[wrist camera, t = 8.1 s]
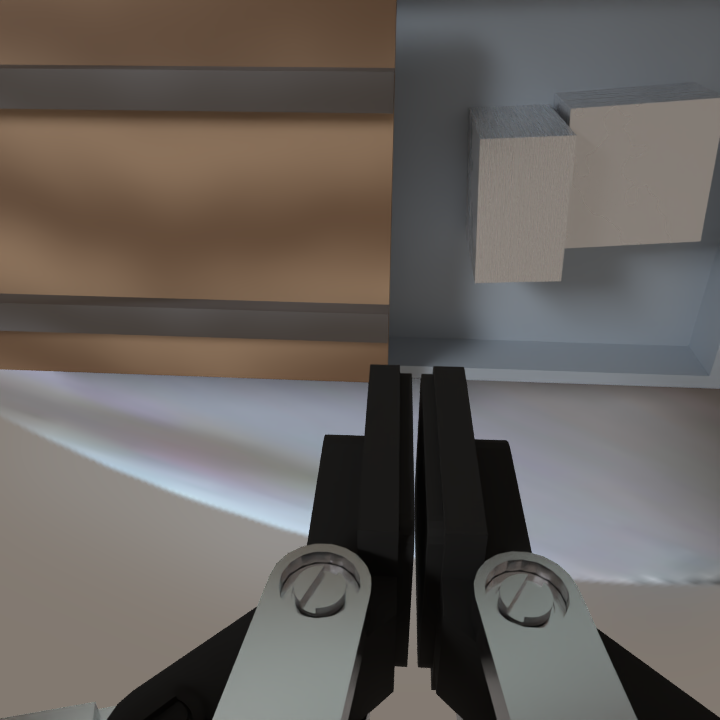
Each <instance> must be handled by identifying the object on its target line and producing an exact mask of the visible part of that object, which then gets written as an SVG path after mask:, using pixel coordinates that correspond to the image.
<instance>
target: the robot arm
mask: <svg viewBox="0 0 720 720" xmlns="http://www.w3.org/2000/svg"><path fill="white" fill-rule="evenodd" d="M414 532H415V553H416V597H417V598H416V605H417V652H418V653H417V654H418V667H421V668H431V690H436V694H437V695H438V696H439V697H440V698H441V699H442V700H443V701H444V702H445V703H446V704H447V705H449V706H450V707H451V708H452V709H453V710H454V711H455V712H456V713H457V714H456V716H457V720H720V718H719V717H718V716H717V715H715V714H714V713H713V712H711V711H710V710H708V709H707V708H706V707H704V706H703V705H702V704H700V703H699V702H697V701H696V700H695V699H693V698H692V697H690V696H689V695H688V694H686V693H685V692H684V691H682V690H681V689H680V688H678V687H677V686H675V685H674V684H673V683H671V682H670V681H669V680H667V679H666V678H664V677H663V676H662V675H660V674H659V673H658V672H656V671H655V670H653V669H652V668H651V667H649V666H648V665H647V664H645V663H644V662H642V661H641V660H640V659H638V658H637V657H635V656H634V655H632V654H631V653H630V652H629V651H627V650H626V649H624V648H623V647H622V646H620V645H619V644H618V643H616V642H615V641H614V640H612V639H611V638H609V637H608V636H607V635H605V634H604V633H603V632H601V631H600V630H598V629H597V628H596V626H595V624H594V622H593V620H592V618H591V615H590V613H589V611H588V609H587V607H586V604H585V602H584V600H583V598H582V595H581V593H580V591H579V589H578V587H577V585H576V584H575V582H574V581H573V579H572V578H571V576H570V575H569V574H568V573H567V572H566V571H565V570H564V569H563V568H561V567H560V566H559V565H558V564H556V563H554V562H553V561H551V560H549V559H547V558H545V557H543V556H540V555H536V554H533V553H532V551H531V547H530V542H529V537H528V532H527V527H526V522H525V518H524V513H523V508H522V503H521V498H520V493H519V489H518V484H517V479H516V474H515V469H514V465H513V460H512V455H511V450H510V446H509V443H508V442H507V440H477V439H474V432H473V425H472V418H471V411H470V404H469V397H468V389H467V382H466V375H465V369H464V367H453V366H433V372H432V374H421V384H420V402H419V421H418V439H417V457H416V475H415V511H414V458H413V406H412V373H400V365H380V364H370V372H369V385H368V398H367V411H366V424H365V436H354V435H325V437H324V441H323V447H322V453H321V460H320V466H319V473H318V479H317V485H316V492H315V498H314V504H313V511H312V517H311V523H310V530H309V536H308V542H307V546H303V547H300V548H298V549H296V550H294V551H292V552H290V553H288V554H287V555H286V556H284V557H283V558H282V559H281V560H280V561H279V562H278V563H277V564H276V566H275V567H274V569H273V571H272V572H271V574H270V576H269V579H268V581H267V584H266V586H265V588H264V591H263V593H262V596H261V598H260V601H259V604H258V606H257V607H256V608H254V609H253V610H251V611H250V612H248V613H247V614H245V615H244V616H242V617H241V618H239V619H238V620H237V621H235V622H234V623H232V624H231V625H230V626H228V627H227V628H225V629H223V630H222V631H220V632H219V633H217V634H216V635H214V636H213V637H212V638H210V639H209V640H207V641H206V642H204V643H203V644H201V645H200V646H198V647H197V648H195V649H194V650H192V651H191V652H190V653H188V654H187V655H185V656H183V657H182V658H181V659H179V660H178V661H176V662H175V663H173V664H172V665H170V666H169V667H167V668H166V669H164V670H163V671H161V672H160V673H159V674H157V675H155V676H154V677H153V678H151V679H150V680H148V681H147V682H145V683H144V684H142V685H141V686H139V687H138V688H136V689H135V690H133V691H132V692H131V693H130V694H129V695H128V696H126V697H125V698H124V699H123V700H122V701H121V702H119V704H117V706H114V707H108V708H103V709H98V708H97V705H96V703H95V702H93V703H87V704H81V705H76V706H70V707H64V708H59V709H53V710H47V711H41V712H35V713H30V714H24V715H19V716H13V717H7V718H1V719H0V720H370V712H371V711H372V710H373V709H374V708H375V707H376V706H378V705H379V704H380V703H381V702H382V701H383V700H384V699H386V697H388V696H389V695H390V694H391V693H392V692H393V689H394V666H401V667H407V659H408V643H409V626H410V608H411V591H412V573H413V556H414Z"/></svg>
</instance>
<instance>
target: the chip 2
mask: <svg viewBox="0 0 720 720" xmlns="http://www.w3.org/2000/svg"><path fill="white" fill-rule="evenodd" d="M554 110H555V111H556V112H557V113H558V114H559V116H560V117H561V118H562V119H563V120H564V121H565V122H566V124H567V125H568V126H569V127H570V128H571V129H572V130H573V132H574V133H575V134H576V135H577V138H576V147H575V157H574V166H573V175H572V184H571V194H570V203H569V212H568V221H567V231H566V240H565V248H583V247H602V246H621V245H640V244H659V243H678V242H697V241H701V236H702V230H703V225H704V219H705V214H706V209H707V203H708V198H709V192H710V187H711V182H712V176H713V171H714V165H715V160H716V155H717V149H718V144H719V138H720V94H719V93H717V92H715V91H712V90H710V89H708V88H706V87H704V86H702V85H700V84H698V83H696V82H688V83H675V84H662V85H649V86H635V87H622V88H609V89H595V90H582V91H569V92H555V97H554Z"/></svg>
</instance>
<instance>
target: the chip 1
mask: <svg viewBox="0 0 720 720" xmlns="http://www.w3.org/2000/svg"><path fill="white" fill-rule="evenodd" d="M576 138H577V135H576V134H575V133H574V132H573V130H572V129H571V128H570V127H569V126H568V125H567V124H566V122H565V121H564V120H563V119H562V118H561V117H560V116H559V114H558V113H557V112H556V111H555V110H554V109H553V108H552V106H551V105H550V104H540V105H517V106H494V107H470V108H469V123H468V160H467V196H466V232H465V233H466V238H467V244H468V249H469V254H470V260H471V265H472V271H473V276H474V281H475V283H501V282H548V281H561V277H562V267H563V258H564V249H565V240H566V231H567V221H568V212H569V203H570V194H571V184H572V175H573V166H574V157H575V147H576Z"/></svg>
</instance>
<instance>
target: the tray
mask: <svg viewBox="0 0 720 720" xmlns="http://www.w3.org/2000/svg"><path fill="white" fill-rule="evenodd" d="M688 82H696V83H698V84H700V85H702V86H704V87H706V88H708V89H710V90H712V91H715V92H717V93H719V94H720V0H397V16H396V58H395V99H394V141H393V183H392V225H391V267H390V309H389V351H388V365H400V373H412V378H421V374H432V372H433V366H453V367H464V369H465V375H466V380H487V381H515V382H544V383H572V384H601V385H629V386H658V387H686V388H715V389H720V138H719V144H718V149H717V155H716V160H715V165H714V171H713V176H712V182H711V187H710V192H709V198H708V203H707V209H706V214H705V219H704V225H703V230H702V236H701V241H697V242H678V243H659V244H640V245H621V246H602V247H583V248H565V249H564V258H563V267H562V277H561V281H548V282H501V283H475V281H474V276H473V271H472V265H471V260H470V254H469V249H468V244H467V238H466V233H465V232H466V196H467V160H468V123H469V108H470V107H494V106H517V105H540V104H550V105H551V106H552V108H553V109H554V97H555V92H569V91H582V90H595V89H609V88H622V87H635V86H649V85H662V84H675V83H688Z"/></svg>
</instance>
